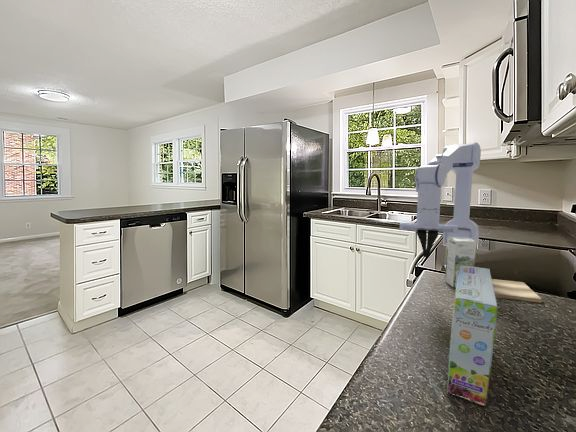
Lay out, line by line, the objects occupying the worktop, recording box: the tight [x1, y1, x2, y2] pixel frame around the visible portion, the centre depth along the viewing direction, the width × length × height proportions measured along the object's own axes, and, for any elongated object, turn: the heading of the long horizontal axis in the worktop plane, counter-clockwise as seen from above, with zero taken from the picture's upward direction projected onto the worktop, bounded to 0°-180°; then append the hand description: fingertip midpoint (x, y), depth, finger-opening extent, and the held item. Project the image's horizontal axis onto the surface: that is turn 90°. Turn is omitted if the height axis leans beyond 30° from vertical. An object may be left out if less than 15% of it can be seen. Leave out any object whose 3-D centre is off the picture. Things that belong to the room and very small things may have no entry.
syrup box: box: [444, 237, 477, 289], centre depth 88 cm, size 6×6×14 cm
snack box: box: [446, 265, 499, 404], centre depth 50 cm, size 21×6×15 cm, turn 148°
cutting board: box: [492, 278, 543, 303], centre depth 85 cm, size 14×14×1 cm
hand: (426, 256), depth 83 cm, fingers closed
